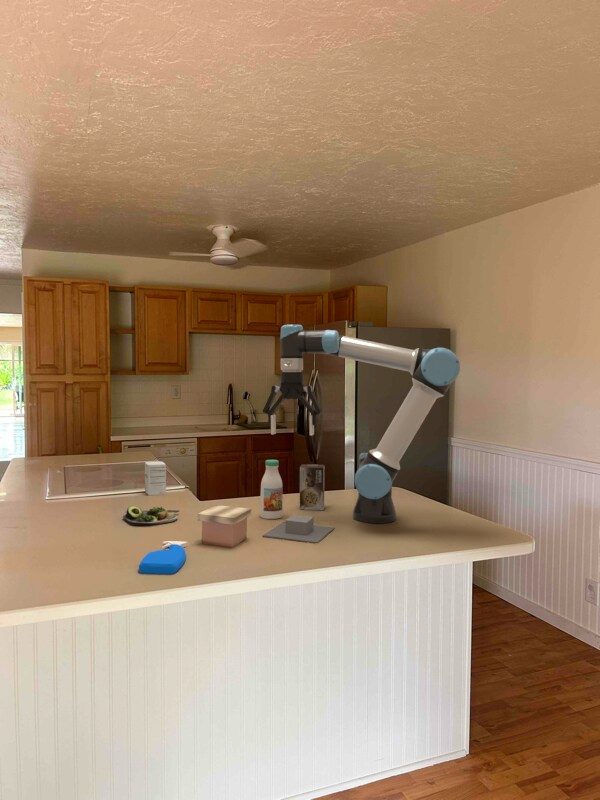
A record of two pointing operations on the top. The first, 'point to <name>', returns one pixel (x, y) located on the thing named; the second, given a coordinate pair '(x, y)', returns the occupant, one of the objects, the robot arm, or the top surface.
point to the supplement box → (155, 478)
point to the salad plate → (149, 516)
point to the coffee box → (312, 487)
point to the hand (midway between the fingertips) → (292, 434)
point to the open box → (224, 533)
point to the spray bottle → (164, 559)
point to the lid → (224, 514)
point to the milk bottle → (271, 492)
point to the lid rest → (299, 530)
